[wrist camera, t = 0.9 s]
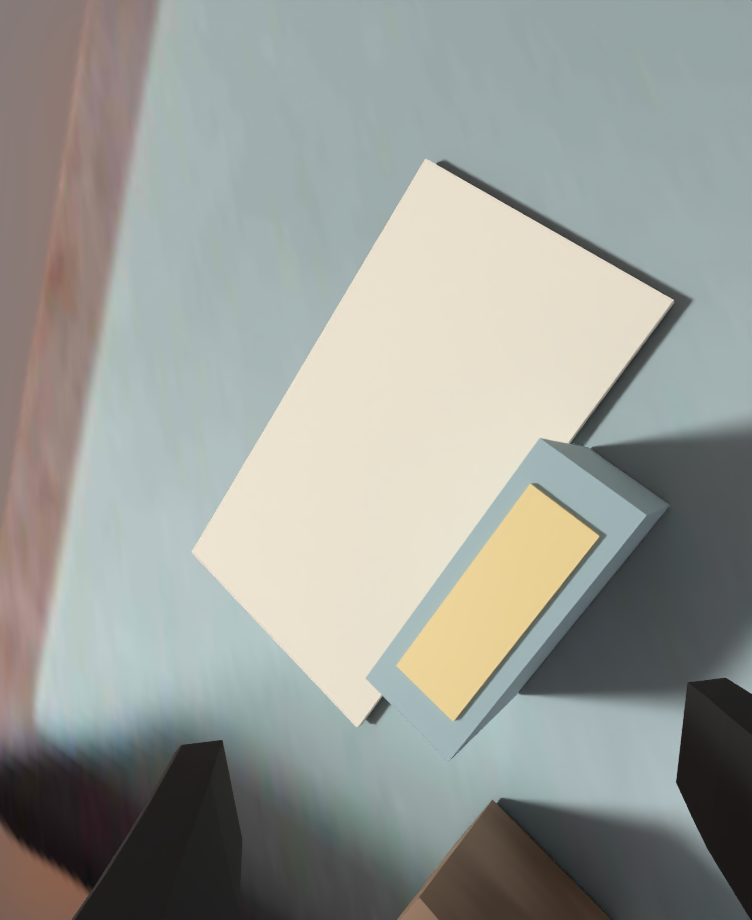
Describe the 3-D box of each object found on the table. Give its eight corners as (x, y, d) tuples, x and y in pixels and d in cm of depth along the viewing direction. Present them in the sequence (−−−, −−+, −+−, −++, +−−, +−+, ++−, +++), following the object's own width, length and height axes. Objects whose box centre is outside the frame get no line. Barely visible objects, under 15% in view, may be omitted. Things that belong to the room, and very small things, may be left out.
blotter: (674, 302, 21) (673, 300, 20) (361, 725, 25) (357, 728, 25) (428, 161, 25) (425, 158, 24) (196, 551, 29) (191, 552, 29)
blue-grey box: (670, 505, 21) (646, 515, 15) (515, 695, 23) (445, 764, 17) (587, 447, 22) (538, 437, 16) (447, 633, 24) (362, 679, 19)
